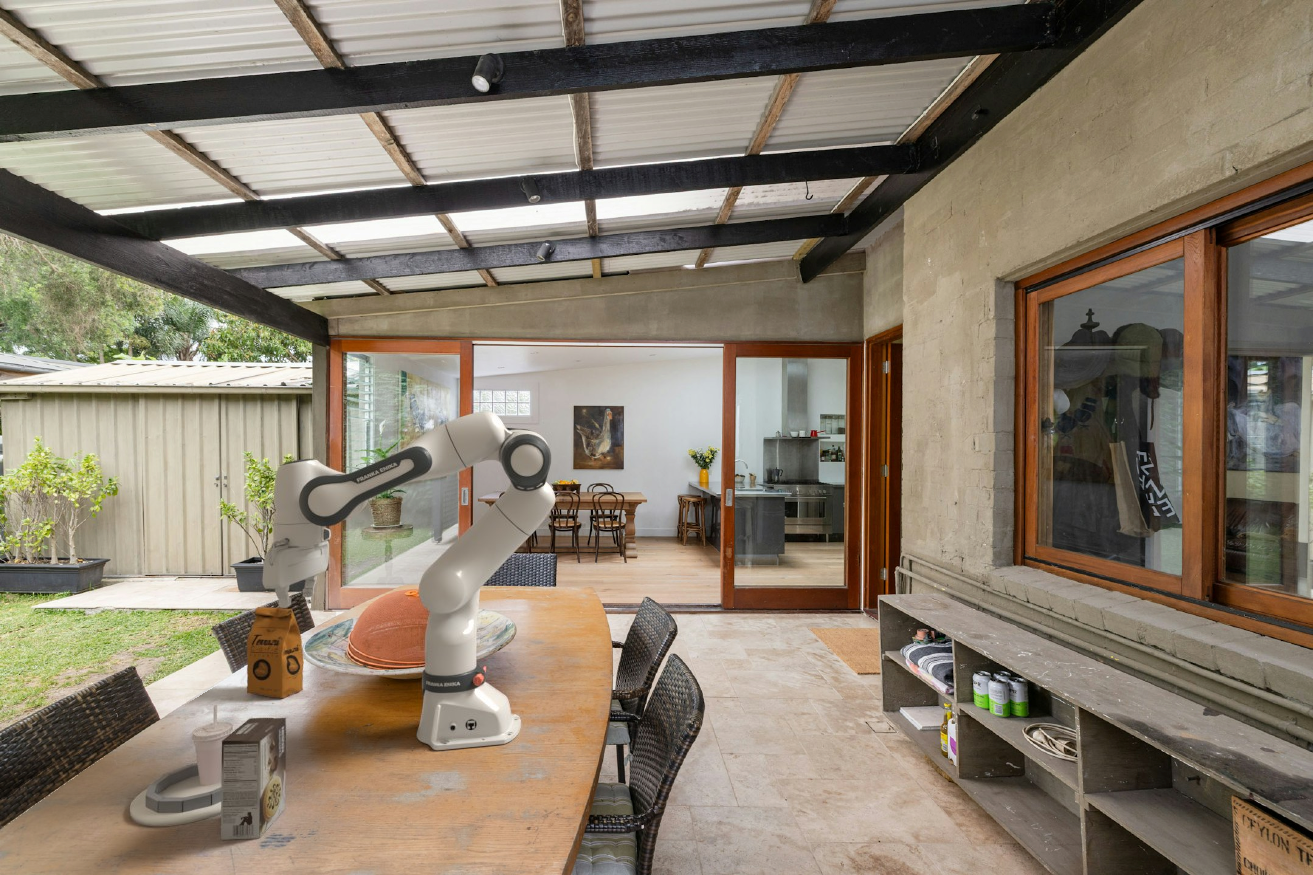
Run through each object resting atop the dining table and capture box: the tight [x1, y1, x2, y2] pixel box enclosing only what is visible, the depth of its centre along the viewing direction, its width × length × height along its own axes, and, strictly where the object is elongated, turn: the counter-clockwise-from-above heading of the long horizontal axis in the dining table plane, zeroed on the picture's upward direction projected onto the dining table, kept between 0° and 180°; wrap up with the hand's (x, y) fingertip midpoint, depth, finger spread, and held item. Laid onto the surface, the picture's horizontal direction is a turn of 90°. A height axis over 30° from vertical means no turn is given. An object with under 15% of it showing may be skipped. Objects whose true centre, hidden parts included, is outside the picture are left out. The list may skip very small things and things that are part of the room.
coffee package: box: [246, 606, 305, 699], centre depth 171 cm, size 10×12×22 cm
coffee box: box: [220, 717, 287, 841], centre depth 111 cm, size 9×6×16 cm
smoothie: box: [191, 704, 234, 786], centre depth 123 cm, size 6×6×14 cm
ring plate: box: [129, 762, 221, 828], centre depth 120 cm, size 20×20×3 cm
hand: (297, 601), depth 139 cm, fingers open, 8 cm apart
